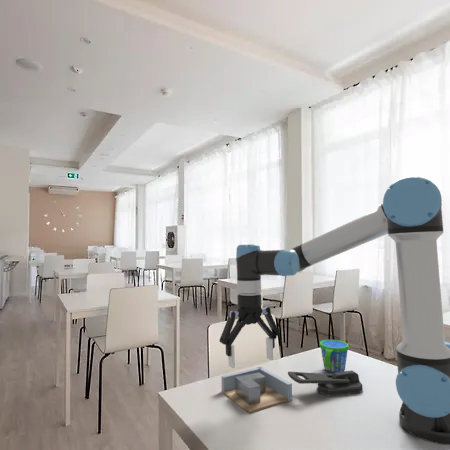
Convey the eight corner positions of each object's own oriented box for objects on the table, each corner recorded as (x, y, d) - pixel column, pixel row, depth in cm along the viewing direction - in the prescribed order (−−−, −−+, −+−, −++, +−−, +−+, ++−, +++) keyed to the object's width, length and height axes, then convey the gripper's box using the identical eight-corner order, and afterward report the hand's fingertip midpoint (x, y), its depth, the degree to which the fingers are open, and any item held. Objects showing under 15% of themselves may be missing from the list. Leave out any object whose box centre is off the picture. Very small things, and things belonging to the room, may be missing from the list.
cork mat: (288, 401, 105) (288, 399, 105) (249, 413, 98) (249, 411, 98) (259, 383, 118) (259, 381, 118) (223, 393, 111) (223, 391, 111)
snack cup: (339, 380, 120) (338, 351, 121) (312, 373, 127) (311, 345, 128) (355, 368, 132) (355, 341, 132) (330, 361, 139) (329, 336, 139)
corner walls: (292, 399, 106) (291, 383, 106) (249, 413, 98) (249, 395, 98) (260, 381, 120) (260, 366, 120) (221, 391, 112) (221, 376, 112)
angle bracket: (259, 387, 113) (259, 372, 114) (274, 398, 105) (273, 382, 105) (235, 392, 110) (235, 377, 110) (248, 405, 101) (248, 388, 102)
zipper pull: (285, 370, 113) (349, 362, 120) (285, 390, 112) (349, 381, 120) (298, 381, 104) (366, 371, 111) (298, 403, 104) (366, 392, 111)
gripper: (276, 289, 115) (278, 352, 114) (207, 295, 104) (209, 365, 103) (289, 291, 108) (291, 359, 107) (217, 298, 97) (219, 374, 96)
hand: (251, 362), depth 105 cm, fingers open, 13 cm apart
